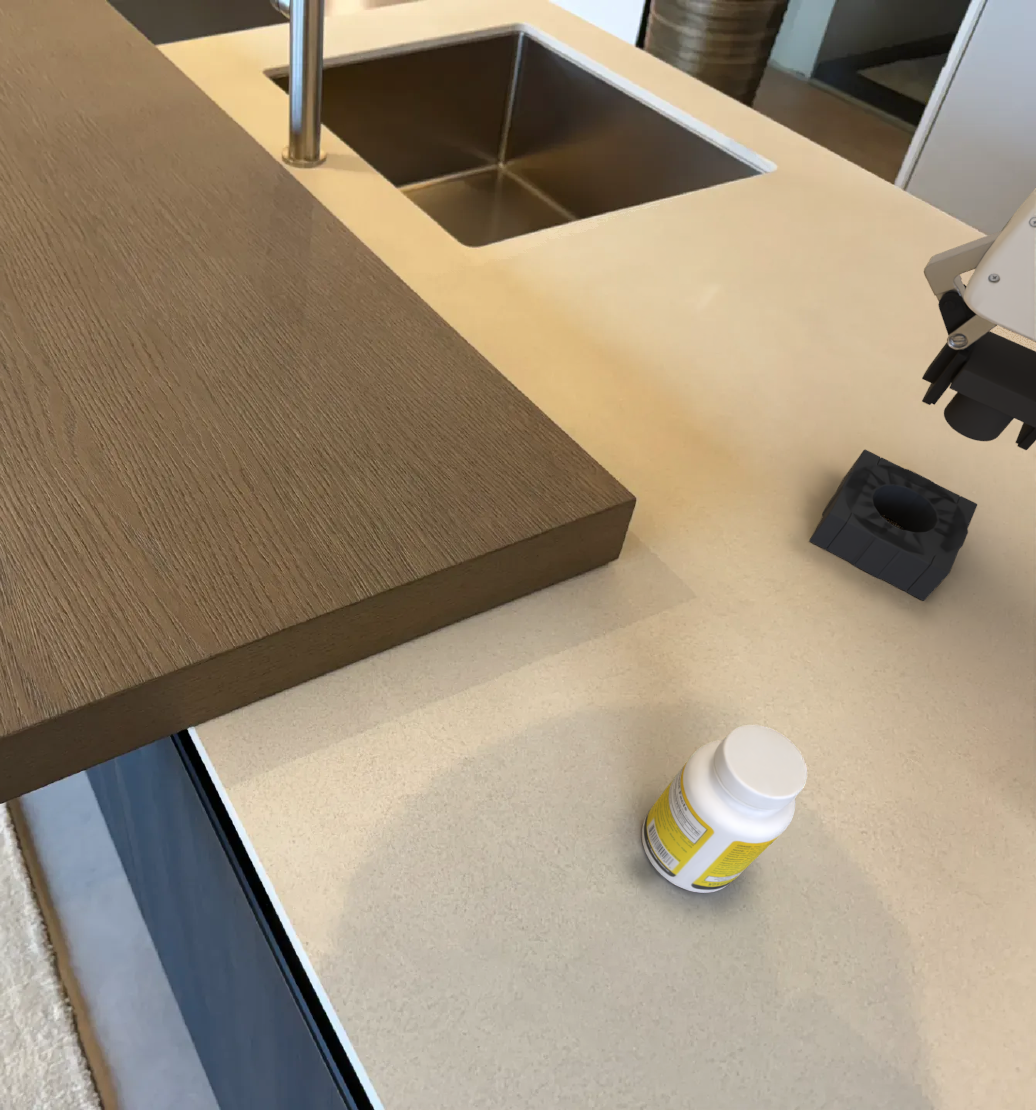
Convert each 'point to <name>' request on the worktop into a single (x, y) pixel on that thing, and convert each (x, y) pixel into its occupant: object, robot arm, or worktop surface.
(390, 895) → the worktop surface
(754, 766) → the supplement bottle
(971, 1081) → the worktop surface
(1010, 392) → the top pad
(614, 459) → the worktop surface
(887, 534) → the base pad
